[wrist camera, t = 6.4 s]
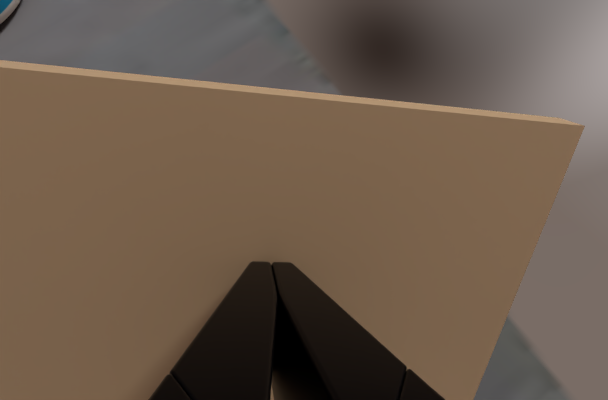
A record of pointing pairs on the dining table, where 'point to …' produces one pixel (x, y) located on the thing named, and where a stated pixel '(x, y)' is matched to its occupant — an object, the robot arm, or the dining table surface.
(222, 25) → the dining table surface
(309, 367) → the robot arm
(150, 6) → the dining table surface
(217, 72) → the dining table surface
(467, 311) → the flap
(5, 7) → the beverage bottle
